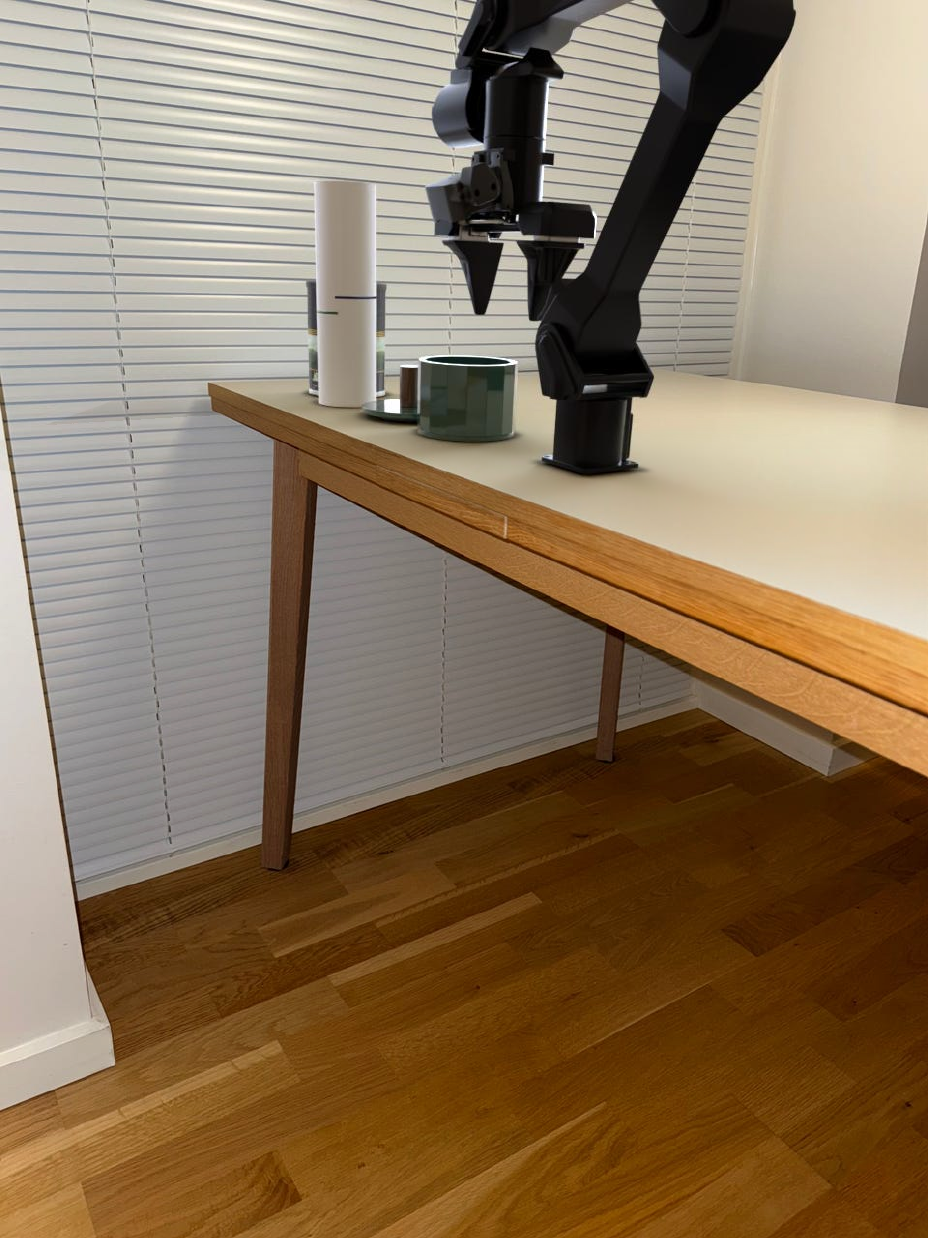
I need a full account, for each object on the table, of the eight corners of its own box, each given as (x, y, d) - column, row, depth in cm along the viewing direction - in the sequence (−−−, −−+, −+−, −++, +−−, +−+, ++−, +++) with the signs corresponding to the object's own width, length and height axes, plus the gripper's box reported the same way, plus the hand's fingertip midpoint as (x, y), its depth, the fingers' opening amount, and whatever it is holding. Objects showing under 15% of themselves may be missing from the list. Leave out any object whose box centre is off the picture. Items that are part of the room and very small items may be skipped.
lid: (390, 427, 101) (391, 373, 99) (344, 412, 110) (344, 362, 108) (476, 421, 107) (478, 369, 105) (426, 407, 115) (427, 359, 113)
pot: (451, 444, 92) (453, 367, 90) (400, 428, 100) (401, 356, 98) (533, 437, 98) (537, 364, 95) (478, 422, 106) (481, 354, 103)
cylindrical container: (372, 408, 113) (372, 181, 104) (314, 406, 113) (309, 179, 104) (379, 400, 120) (379, 186, 111) (323, 398, 120) (319, 184, 111)
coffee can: (381, 400, 120) (381, 284, 115) (301, 397, 120) (298, 281, 115) (390, 390, 129) (390, 282, 124) (316, 387, 130) (314, 279, 125)
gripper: (388, 139, 89) (388, 311, 94) (501, 120, 74) (492, 325, 80) (485, 150, 95) (479, 312, 100) (607, 134, 80) (592, 324, 86)
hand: (506, 317), depth 91 cm, fingers open, 9 cm apart
